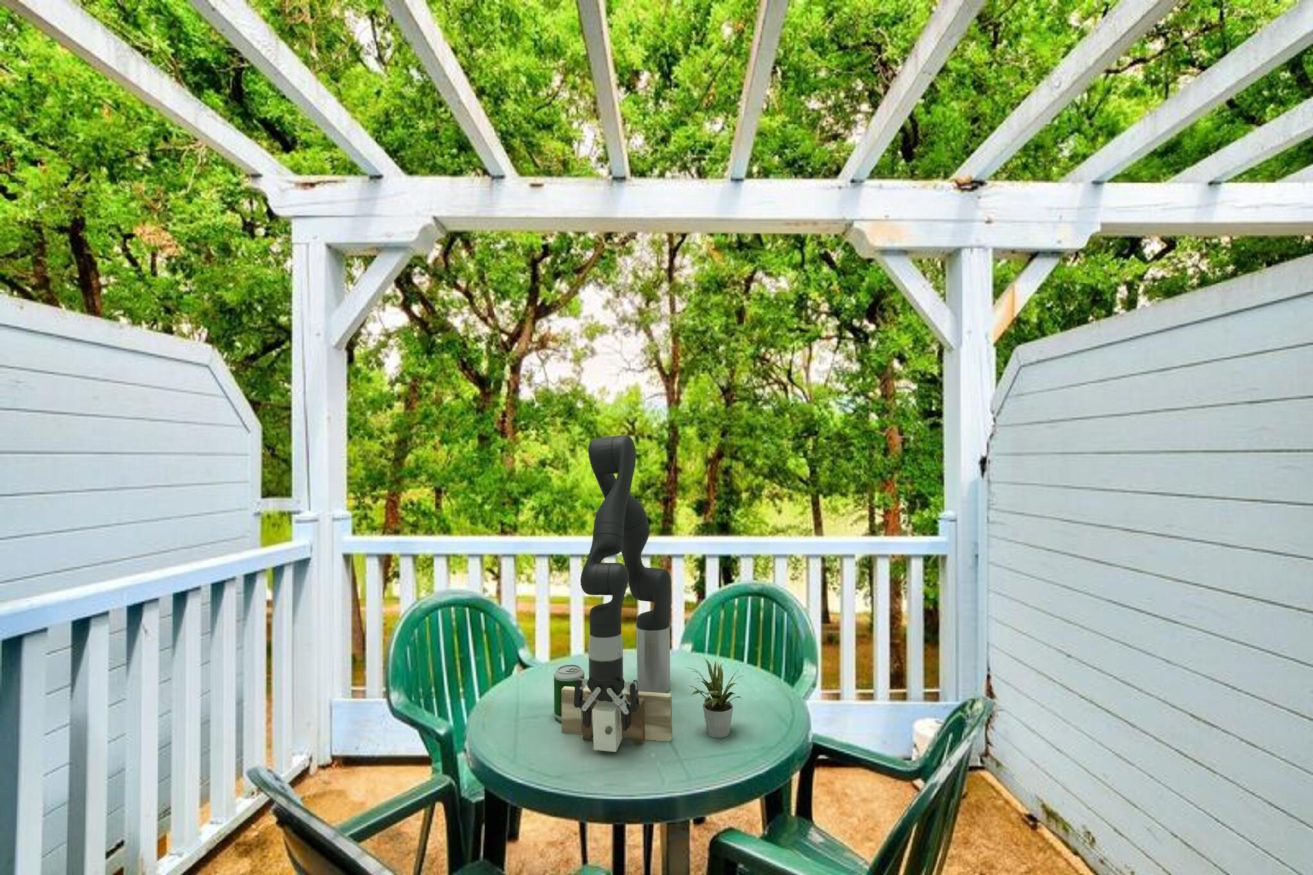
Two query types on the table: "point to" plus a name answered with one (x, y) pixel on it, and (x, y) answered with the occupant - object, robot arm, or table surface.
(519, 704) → the table surface
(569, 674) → the soda can
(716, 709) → the house plant
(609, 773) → the table surface
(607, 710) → the cabinet
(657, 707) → the wall board
